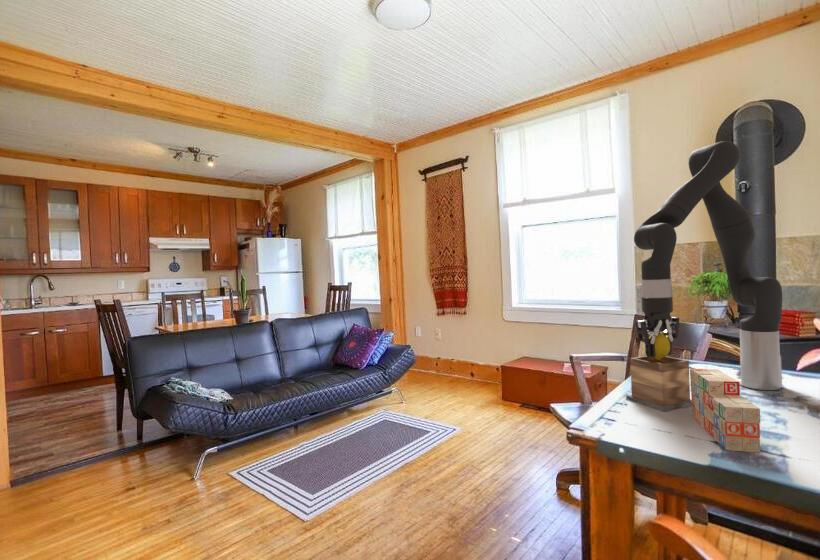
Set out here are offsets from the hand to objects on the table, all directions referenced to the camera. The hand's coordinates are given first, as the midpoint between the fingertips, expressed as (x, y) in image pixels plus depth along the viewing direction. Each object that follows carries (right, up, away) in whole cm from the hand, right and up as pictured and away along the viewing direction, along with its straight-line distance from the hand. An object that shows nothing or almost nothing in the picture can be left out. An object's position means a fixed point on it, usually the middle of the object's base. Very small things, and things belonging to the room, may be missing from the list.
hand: (658, 355), depth 117 cm
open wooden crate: (+1, -13, 0) cm, 13 cm away
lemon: (0, -1, 0) cm, 1 cm away
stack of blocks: (+2, -14, -22) cm, 26 cm away
